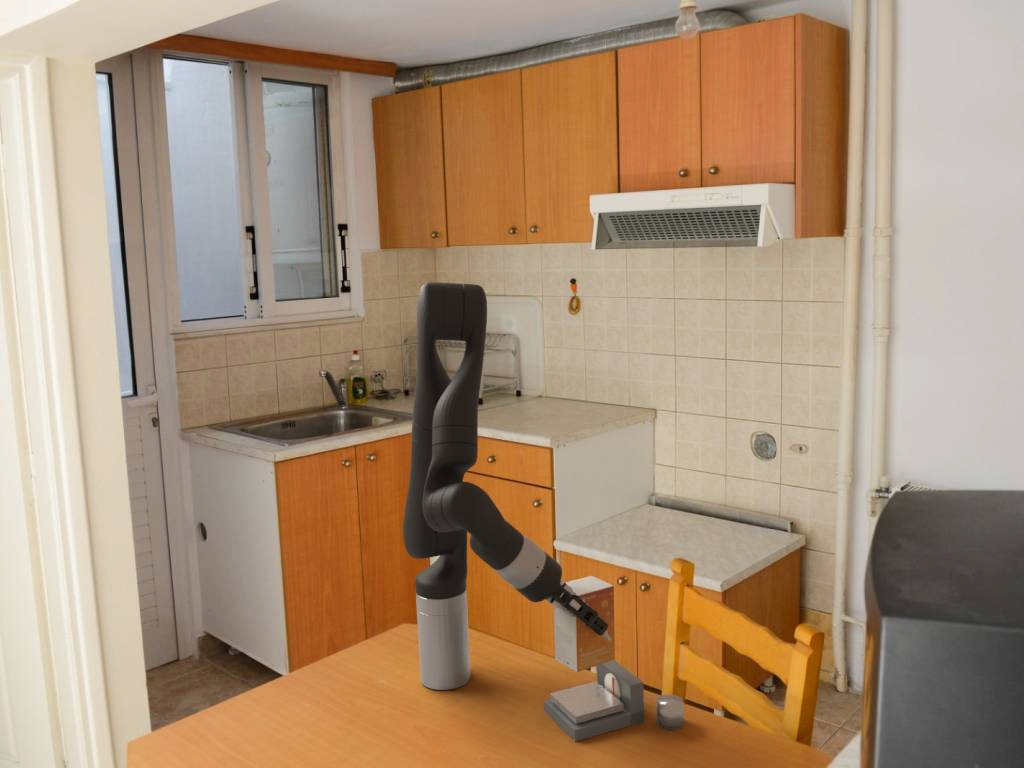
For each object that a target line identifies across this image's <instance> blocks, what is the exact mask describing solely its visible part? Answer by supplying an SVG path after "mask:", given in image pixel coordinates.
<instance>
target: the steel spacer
mask: <svg viewBox="0 0 1024 768" xmlns="http://www.w3.org/2000/svg"><path fill="white" fill-rule="evenodd" d="M684 708H685V705H684V699H683V698H682V697H680V696H678V695H675V694H661V695H659V696H658V697H657V698H656V725H657V726H658V728H660V729H661V730H665V731H678V730H680V729H682V728H683V727H684V726H685V723H684V722H685V719H684V717H685V712H684V711H685V709H684Z"/></svg>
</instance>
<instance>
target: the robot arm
mask: <svg viewBox="0 0 1024 768" xmlns="http://www.w3.org/2000/svg"><path fill="white" fill-rule="evenodd" d="M416 306H417V307H416V374H415V375H416V376H415V377H416V378H415V388H414V389H415V391H414V400H413V410H412V420H411V421H412V422H411V441H410V442H411V445H410V446H411V451H410V469H409V470H410V471H409V480H408V481H409V482H408V488H407V494H406V499H405V507H404V513H403V514H404V515H403V522H402V535H403V536H402V537H403V544H404V547H405V550H406V552H407V553H408V555H409V556H410V557H412V558H413V559H416V560H420V559H421V560H422V559H429V558H435V557H437V559H436V560H435V561H434V562H433V563H432V564H431V565H429V566H428V567H426V568H424V569H423V570H422V571H420V572H419V573H418V574H417V575H416V576H415V580H414V582H415V583H414V585H415V586H414V587H415V600H416V602H415V603H416V604H415V605H416V616H417V617H416V618H417V620H416V621H417V634H418V639H417V640H418V656H419V673H420V674H419V675H420V683H421V684H422V686H424V687H426V688H428V689H432V690H437V691H448V690H453V689H457V688H460V687H463V686H465V685H466V684H468V682H470V680H471V661H470V659H471V658H470V657H471V656H470V638H469V636H470V635H469V616H468V615H469V614H468V597H467V578H468V534H470V536H469V547H470V549H471V550H472V552H473V553H474V554H475V555H476V556H477V557H479V559H480V560H482V561H483V562H484V563H486V564H487V565H488V566H489V567H490V568H491V569H493V571H494V572H495V573H496V574H497V575H498V576H499V577H500V578H502V580H504V582H506V583H507V584H508V585H509V586H511V587H513V589H515V590H516V591H517V592H519V594H521V595H522V596H524V597H525V599H527V600H528V601H530V602H532V603H539V602H540V603H541V602H543V601H546V602H548V603H549V604H551V605H552V606H553V607H554V606H555V607H556V608H560V609H561V610H563V611H564V612H565V613H566V614H568V615H569V616H570V617H577V618H578V619H579V620H580V621H582V623H583V624H584V625H586V626H588V627H590V628H591V629H592V630H593V631H594V632H596V633H597V634H598V635H600V636H601V635H603V633H604V632H605V631H606V629H607V628H608V624H607V623H605V622H604V621H603V620H602V619H601V618H600V617H598V615H599V614H597V612H596V611H594V610H593V609H592V608H590V607H589V606H588V605H587V604H586V603H585V600H584V599H583V601H582V600H581V599H580V598H579V596H578V595H575V594H576V593H575V592H574V591H572V588H571V587H570V586H569V585H567V584H566V582H565V581H564V582H563V581H562V576H563V567H562V566H561V565H560V563H559V562H558V561H556V560H555V559H554V558H553V557H552V556H550V555H549V554H548V553H547V552H546V551H545V550H543V549H542V547H540V546H539V545H538V544H537V543H535V542H534V541H533V540H532V539H530V538H529V537H527V536H525V535H524V534H522V533H521V532H520V531H519V530H518V529H517V528H515V527H514V526H513V524H511V523H509V521H507V520H506V519H505V518H504V516H503V514H502V512H501V511H500V510H499V508H498V507H497V506H496V504H495V502H494V501H493V499H492V498H491V496H489V494H488V493H487V492H486V491H485V489H483V488H482V487H480V486H479V485H477V484H475V483H472V482H470V481H463V480H464V478H465V474H466V473H467V472H468V471H469V470H470V469H472V468H473V467H474V466H475V465H476V463H477V460H478V451H479V450H478V443H479V442H478V441H479V435H478V433H479V432H478V430H479V429H478V428H479V427H478V426H479V425H478V417H479V415H478V414H479V412H478V411H479V399H480V391H481V383H482V375H483V367H484V358H485V357H484V356H485V347H486V346H485V345H486V334H487V324H488V323H487V322H488V300H487V294H486V292H485V289H484V287H482V286H481V285H479V284H475V283H474V284H472V283H455V282H435V281H433V282H432V281H431V282H426V283H424V284H423V285H422V286H421V287H420V289H419V293H418V297H417V305H416ZM438 341H455V342H457V341H460V342H465V348H464V349H465V350H464V354H463V358H462V361H461V363H460V365H459V367H458V369H457V371H456V373H455V374H454V376H453V377H452V379H451V378H450V376H449V374H448V373H447V372H446V369H445V367H444V365H443V363H442V361H441V358H440V356H439V352H438V349H437V346H436V344H437V342H438ZM571 594H574V595H573V596H572V595H571ZM564 607H565V608H564ZM566 608H567V609H566ZM569 611H571V612H569Z"/></svg>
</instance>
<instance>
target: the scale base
mask: <svg viewBox="0 0 1024 768" xmlns="http://www.w3.org/2000/svg"><path fill="white" fill-rule="evenodd" d="M596 681H597V682H598V683H599V684H600V685H602V686H603V687H604V688H605V689H606V690H608V691H609V692H610V693H611V694H613V695H614V696H615V697H616V698H617V699H619V700H620V701H621V702H622V703H624V710H623V711H620V712H616V713H613V714H609V715H606V716H602V717H599V718H595V719H592V720H588V721H584V722H581V723H577V724H575V723H574V722H573V721H572V720H571V719H570V718H569V717H568V716H567V715H566V714H565V713H564V712H563V711H562V710H560V709H559V708H558V707H557V706H556V705H555V704H554V703H553V702H552V701H551V700H550V698H549V699H545V700H543V711H545V712H546V713H547V714H548V715H549V716H550V717H551V718H552V719H553V720H554V721H555V722H556V723H557V724H558V725H559V726H560V727H561V729H562V730H563V732H565V734H566V735H568V737H569V738H571V739H572V741H574V740H575V741H576V742H578V740H580V741H582V740H581V739H583V740H586V739H585V738H587V739H589V738H588V737H590V738H592V736H593V737H596V735H597V736H599V734H600V735H603V734H602V733H604V734H606V732H607V733H610V732H613V731H612V730H614V731H616V729H617V730H620V729H619V728H621V729H624V728H627V727H631V726H634V725H637V724H636V723H638V724H640V723H644V722H645V710H644V709H645V706H644V705H645V702H644V701H645V700H644V695H645V694H644V681H643V680H642V679H640V678H639V677H637V676H636V675H635V674H634V673H632V672H630V671H629V670H628V669H626V668H625V667H624V666H623V665H621V664H620V663H618V661H616V660H613V661H609V662H606V663H603V664H600V665H597V666H596ZM545 712H544V713H545ZM546 713H545V714H546ZM547 714H546V715H547ZM548 715H547V716H548ZM549 716H548V717H549ZM550 717H549V718H550ZM551 718H550V719H551ZM552 719H551V720H552ZM553 720H552V721H553ZM554 721H553V722H554ZM555 722H554V723H555ZM556 723H555V724H556ZM557 724H556V725H557ZM633 724H634V725H633ZM558 725H557V726H558ZM630 725H631V726H630ZM559 726H558V727H559ZM609 731H610V732H609ZM575 741H574V742H575Z"/></svg>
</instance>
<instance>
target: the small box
mask: <svg viewBox="0 0 1024 768" xmlns="http://www.w3.org/2000/svg"><path fill="white" fill-rule="evenodd" d="M565 583H566V584H567V585H569V586H570V587H571V588H572V591H574V592H575V593H576V594H575V595H578V596H579V598H580V599H581V600H582V601H583V599H584V600H585V603H586V604H587V605H588V606H589V607H590V608H592V609H593V610H594V611H596V612H597V614H599V615H598V617H600V618H601V619H602V620H603V621H604V622H605V623H607V624H608V628H607V629H606V631H605V632H604V633H603V635H601V636H600V635H598V634H597V633H596V632H594V631H593V630H592V629H591V628H590V627H588V626H586V625H584V624H583V623H582V621H580V620H579V619H578V618H577V617H570V616H569V615H568V614H566V613H565V612H564V611H563V610H561V609H560V608H556V607H555V606H554V605H553V618H554V619H553V621H554V622H553V624H554V626H553V627H554V629H553V631H554V658H555V661H556V662H559V663H560V664H562V665H563V666H565V667H567V668H568V669H570V670H573V672H576V673H580V672H582V671H585V670H587V669H591V668H594V667H597V665H600V664H603V663H606V662H609V661H613V660H615V659H616V647H615V646H616V645H615V644H616V643H615V641H616V640H615V638H616V637H615V636H616V635H615V633H616V632H615V631H616V630H615V586H614V585H613V584H611V583H609V582H606V581H604V580H603V579H600V578H597V577H595V576H593V575H588V576H585V577H582V578H578V579H574V580H569V581H566V582H565ZM571 595H572V596H573V595H574V594H571ZM564 608H565V607H564ZM566 609H567V608H566ZM569 612H571V611H569ZM615 661H616V660H615Z"/></svg>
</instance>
